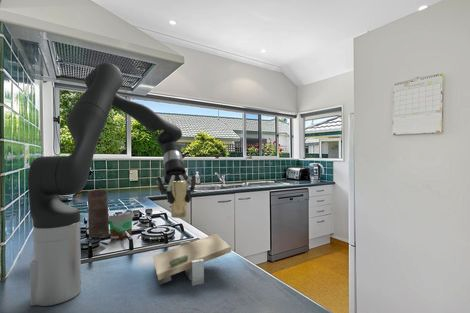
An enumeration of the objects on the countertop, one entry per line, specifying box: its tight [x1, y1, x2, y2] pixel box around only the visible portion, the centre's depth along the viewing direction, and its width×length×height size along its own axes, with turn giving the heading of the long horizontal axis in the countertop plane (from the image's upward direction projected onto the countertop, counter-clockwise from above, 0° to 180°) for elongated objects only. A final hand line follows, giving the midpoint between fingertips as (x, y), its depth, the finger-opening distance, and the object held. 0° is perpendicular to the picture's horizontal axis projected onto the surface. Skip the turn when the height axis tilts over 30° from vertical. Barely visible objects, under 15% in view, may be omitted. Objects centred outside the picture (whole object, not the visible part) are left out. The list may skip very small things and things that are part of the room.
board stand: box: [179, 240, 205, 287], centre depth 73 cm, size 3×17×6 cm, turn 22°
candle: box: [87, 188, 110, 239], centre depth 105 cm, size 8×7×20 cm
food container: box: [108, 209, 135, 241], centre depth 105 cm, size 12×6×10 cm, turn 168°
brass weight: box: [170, 180, 188, 219], centre depth 88 cm, size 5×5×12 cm
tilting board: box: [152, 233, 232, 286], centre depth 73 cm, size 20×13×4 cm, turn 112°
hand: (179, 201), depth 86 cm, fingers closed on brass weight, 5 cm apart
